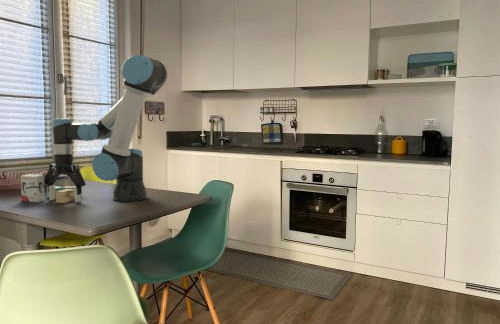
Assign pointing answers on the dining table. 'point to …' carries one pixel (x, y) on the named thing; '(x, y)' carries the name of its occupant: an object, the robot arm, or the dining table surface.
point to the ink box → (32, 188)
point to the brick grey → (69, 187)
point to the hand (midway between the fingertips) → (65, 200)
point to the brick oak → (65, 195)
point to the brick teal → (55, 190)
